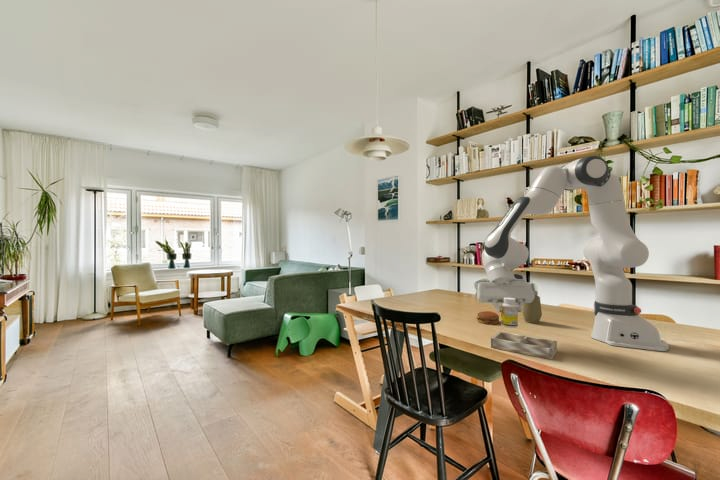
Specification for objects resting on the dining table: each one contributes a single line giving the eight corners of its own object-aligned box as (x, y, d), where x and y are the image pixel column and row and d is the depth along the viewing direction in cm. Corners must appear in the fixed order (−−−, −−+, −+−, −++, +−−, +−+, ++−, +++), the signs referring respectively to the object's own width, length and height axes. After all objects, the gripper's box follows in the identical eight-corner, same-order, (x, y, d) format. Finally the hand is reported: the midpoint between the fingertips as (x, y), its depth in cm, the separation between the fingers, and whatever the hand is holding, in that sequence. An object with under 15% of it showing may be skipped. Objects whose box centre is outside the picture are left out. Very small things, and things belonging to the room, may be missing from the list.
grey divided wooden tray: (556, 350, 113) (556, 341, 113) (552, 359, 105) (552, 349, 105) (499, 340, 125) (499, 331, 125) (490, 347, 117) (490, 338, 117)
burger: (503, 323, 148) (503, 313, 148) (486, 325, 145) (486, 315, 145) (489, 318, 158) (488, 309, 158) (472, 320, 155) (472, 311, 155)
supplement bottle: (503, 323, 121) (503, 296, 121) (519, 326, 118) (519, 298, 118) (499, 326, 117) (499, 298, 117) (515, 329, 114) (515, 300, 113)
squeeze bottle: (545, 324, 147) (545, 284, 146) (527, 324, 147) (527, 284, 147) (536, 319, 155) (536, 282, 155) (519, 319, 155) (519, 282, 155)
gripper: (474, 275, 125) (482, 306, 115) (529, 275, 124) (542, 306, 114) (471, 285, 129) (479, 315, 120) (524, 285, 128) (535, 316, 118)
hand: (510, 311), depth 117 cm, fingers closed on supplement bottle, 5 cm apart
